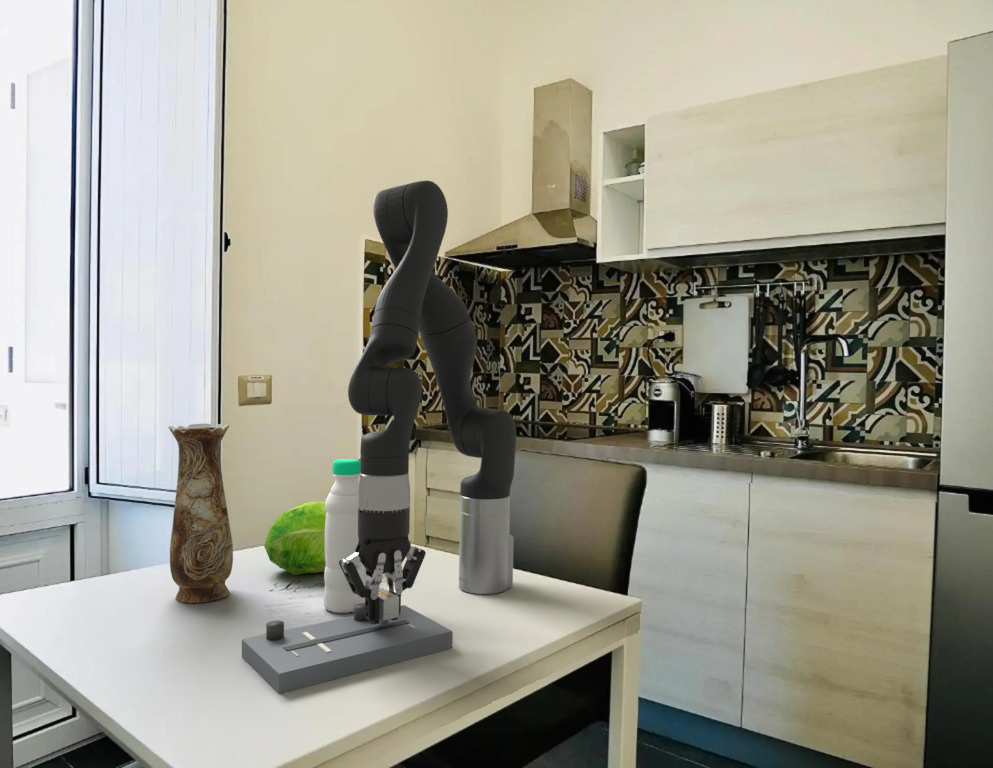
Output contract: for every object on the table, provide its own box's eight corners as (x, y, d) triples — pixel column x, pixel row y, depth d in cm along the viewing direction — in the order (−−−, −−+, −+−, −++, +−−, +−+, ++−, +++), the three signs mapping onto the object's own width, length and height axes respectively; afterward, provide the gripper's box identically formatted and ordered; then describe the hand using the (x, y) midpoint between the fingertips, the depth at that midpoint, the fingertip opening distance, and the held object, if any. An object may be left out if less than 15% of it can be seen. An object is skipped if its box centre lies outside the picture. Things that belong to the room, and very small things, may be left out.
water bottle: (356, 616, 121) (358, 463, 120) (316, 612, 122) (318, 461, 121) (372, 602, 128) (374, 458, 127) (334, 599, 129) (336, 456, 128)
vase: (206, 608, 123) (207, 428, 123) (154, 601, 126) (154, 426, 126) (245, 590, 133) (246, 424, 132) (195, 583, 136) (196, 421, 136)
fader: (382, 618, 112) (382, 587, 111) (398, 628, 108) (399, 596, 107) (367, 621, 110) (367, 590, 110) (383, 631, 106) (383, 599, 106)
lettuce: (373, 578, 142) (374, 508, 141) (263, 586, 136) (264, 512, 136) (363, 558, 156) (364, 494, 156) (264, 564, 151) (264, 497, 150)
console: (403, 620, 119) (404, 592, 119) (452, 647, 108) (452, 617, 108) (241, 656, 103) (241, 624, 103) (278, 693, 92) (279, 657, 92)
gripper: (412, 495, 115) (410, 605, 116) (328, 504, 107) (327, 622, 108) (438, 503, 110) (436, 618, 110) (352, 513, 101) (350, 638, 102)
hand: (382, 620), depth 109 cm, fingers closed on fader, 2 cm apart
